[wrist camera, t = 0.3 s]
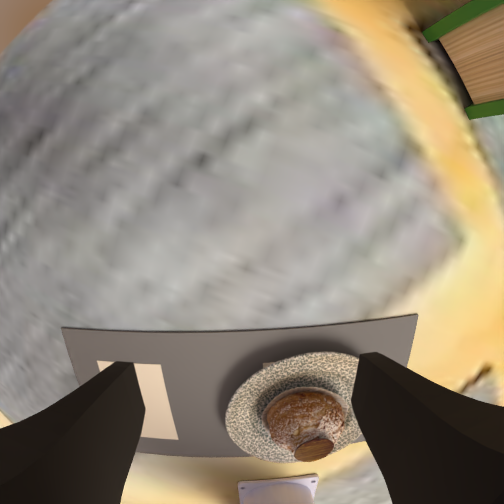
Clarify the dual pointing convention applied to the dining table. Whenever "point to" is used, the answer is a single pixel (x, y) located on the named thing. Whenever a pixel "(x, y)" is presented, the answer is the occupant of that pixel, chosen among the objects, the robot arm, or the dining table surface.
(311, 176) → the dining table surface
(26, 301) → the dining table surface
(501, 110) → the hardback book
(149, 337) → the label panel
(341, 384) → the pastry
